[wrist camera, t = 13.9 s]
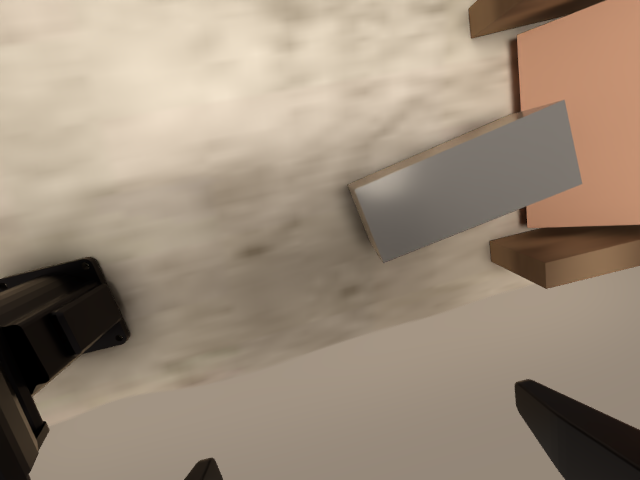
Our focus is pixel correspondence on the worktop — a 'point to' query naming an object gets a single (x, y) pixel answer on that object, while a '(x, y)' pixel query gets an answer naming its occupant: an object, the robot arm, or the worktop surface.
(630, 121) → the trapdoor
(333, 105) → the worktop surface
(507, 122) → the gray rectangular block
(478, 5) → the brown bracket
